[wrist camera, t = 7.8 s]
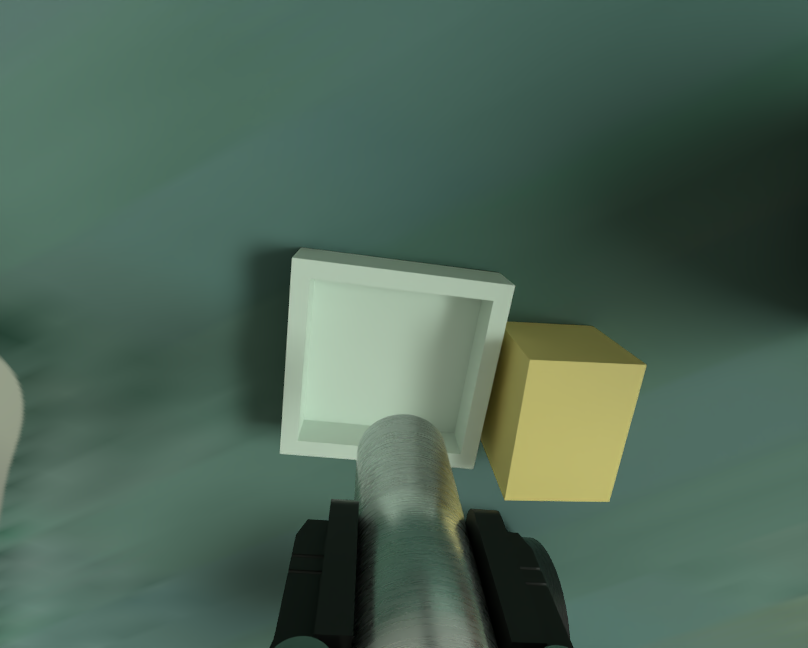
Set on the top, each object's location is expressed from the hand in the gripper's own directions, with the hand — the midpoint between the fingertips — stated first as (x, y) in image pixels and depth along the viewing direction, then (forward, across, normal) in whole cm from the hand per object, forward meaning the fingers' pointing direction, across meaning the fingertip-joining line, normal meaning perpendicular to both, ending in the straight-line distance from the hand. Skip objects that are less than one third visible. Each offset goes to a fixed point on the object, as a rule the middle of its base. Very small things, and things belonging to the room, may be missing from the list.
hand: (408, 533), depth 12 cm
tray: (+12, 0, 0) cm, 12 cm away
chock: (+12, -8, +1) cm, 15 cm away
